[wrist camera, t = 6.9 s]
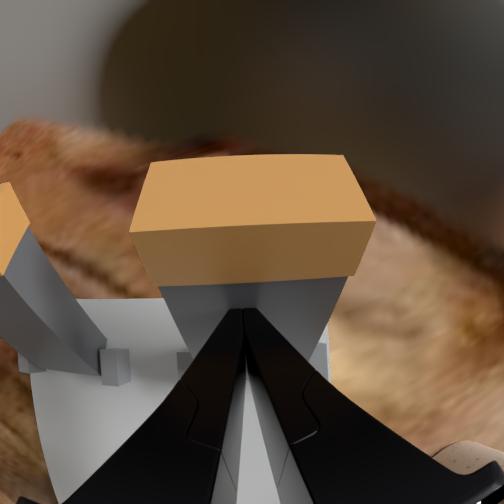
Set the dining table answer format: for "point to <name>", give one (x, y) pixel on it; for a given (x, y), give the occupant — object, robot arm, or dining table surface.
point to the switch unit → (133, 397)
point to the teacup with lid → (468, 457)
